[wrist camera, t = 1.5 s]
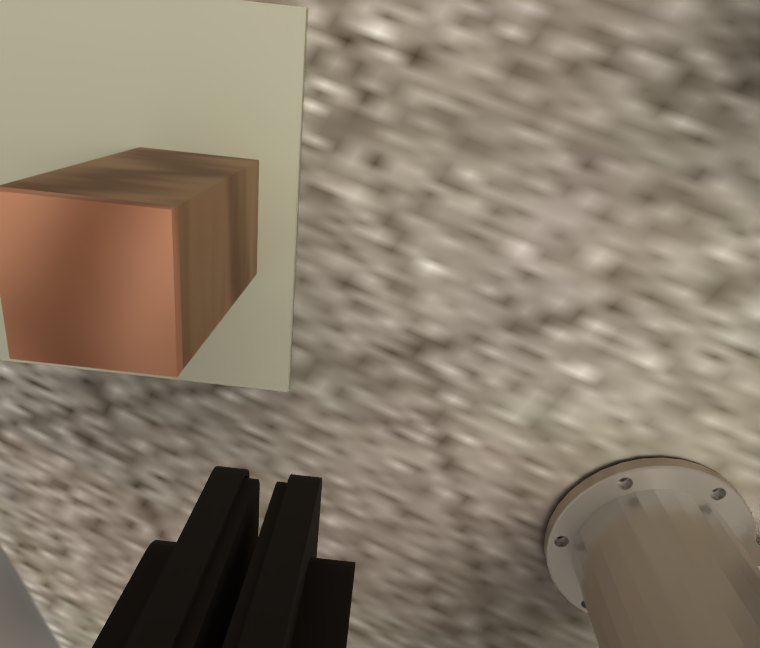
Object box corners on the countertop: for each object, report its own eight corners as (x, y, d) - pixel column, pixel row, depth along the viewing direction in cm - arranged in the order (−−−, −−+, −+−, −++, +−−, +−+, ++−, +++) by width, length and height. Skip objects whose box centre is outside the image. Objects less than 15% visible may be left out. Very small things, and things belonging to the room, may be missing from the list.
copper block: (259, 159, 30) (171, 210, 19) (256, 273, 33) (177, 377, 22) (139, 146, 30) (-17, 189, 19) (146, 261, 33) (9, 358, 22)
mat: (308, 8, 28) (306, 7, 28) (290, 388, 36) (288, 392, 35) (-120, -38, 28) (-129, -39, 28) (-46, 350, 36) (-52, 354, 35)
